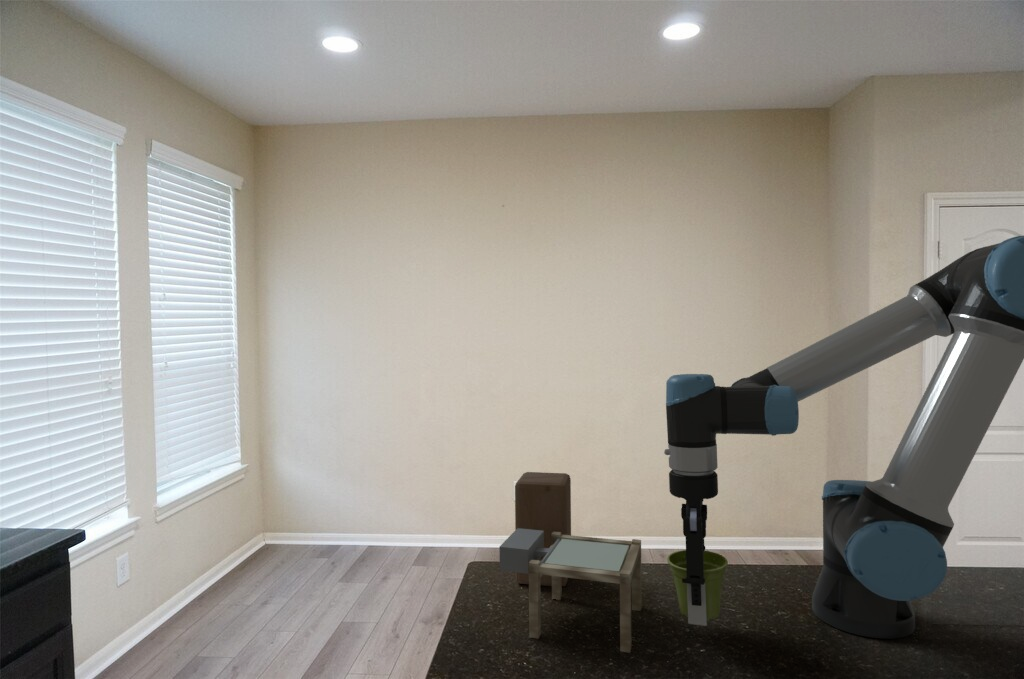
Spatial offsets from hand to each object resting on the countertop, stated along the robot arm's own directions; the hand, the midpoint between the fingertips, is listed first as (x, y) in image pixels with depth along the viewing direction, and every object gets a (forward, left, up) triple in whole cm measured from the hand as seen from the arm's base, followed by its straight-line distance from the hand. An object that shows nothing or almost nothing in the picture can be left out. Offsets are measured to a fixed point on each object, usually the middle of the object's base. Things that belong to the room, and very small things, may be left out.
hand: (698, 610), depth 98 cm
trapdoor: (+22, +1, +5) cm, 22 cm away
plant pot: (0, 0, 0) cm, 1 cm away
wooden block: (+30, -15, -4) cm, 34 cm away
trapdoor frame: (+18, +1, -4) cm, 18 cm away
